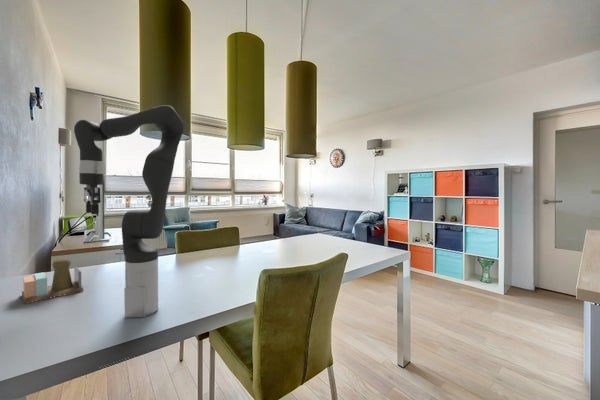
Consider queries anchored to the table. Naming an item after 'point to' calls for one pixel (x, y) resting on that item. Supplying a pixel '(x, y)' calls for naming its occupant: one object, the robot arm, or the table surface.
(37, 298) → the shelf board
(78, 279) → the bookend
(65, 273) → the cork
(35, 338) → the table surface
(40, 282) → the books
